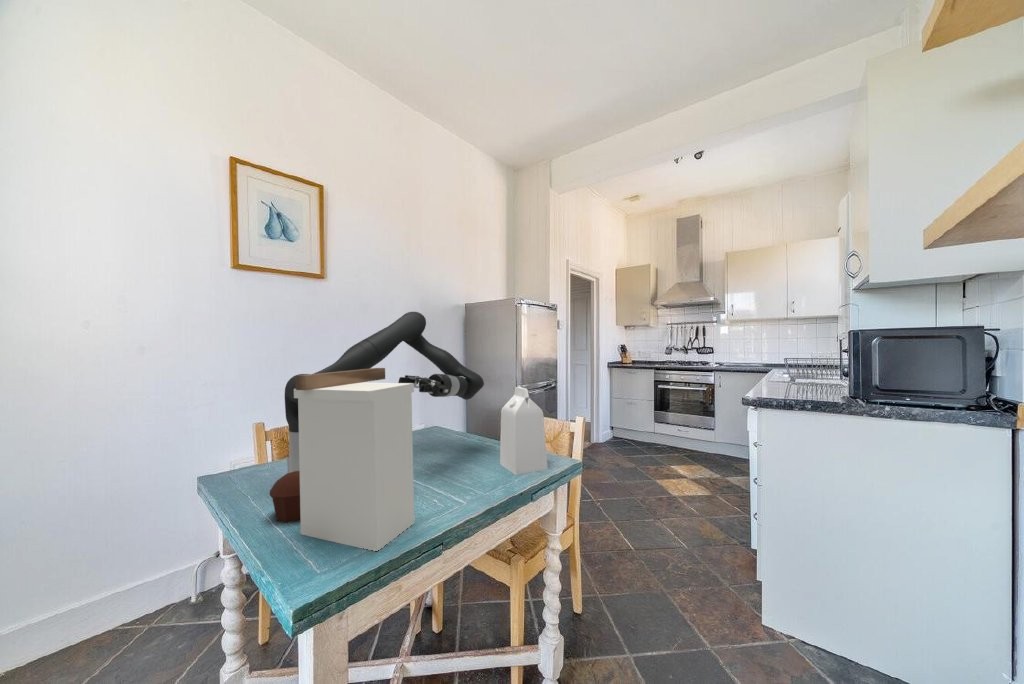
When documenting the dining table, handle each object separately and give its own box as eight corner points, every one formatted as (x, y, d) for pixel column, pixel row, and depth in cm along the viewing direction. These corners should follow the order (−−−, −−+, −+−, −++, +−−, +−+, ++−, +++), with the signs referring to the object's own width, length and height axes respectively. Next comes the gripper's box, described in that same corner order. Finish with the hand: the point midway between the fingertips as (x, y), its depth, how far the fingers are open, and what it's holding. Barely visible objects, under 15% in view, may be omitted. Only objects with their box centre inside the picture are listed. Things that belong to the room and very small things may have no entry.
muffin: (261, 516, 88) (260, 475, 88) (308, 500, 97) (307, 462, 97) (284, 530, 81) (283, 485, 81) (332, 510, 90) (331, 470, 91)
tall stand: (296, 536, 78) (293, 388, 78) (347, 508, 91) (344, 382, 91) (373, 554, 71) (370, 391, 71) (417, 521, 84) (413, 383, 84)
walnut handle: (295, 389, 76) (295, 375, 76) (376, 378, 98) (376, 367, 98) (306, 390, 75) (305, 375, 75) (385, 379, 97) (385, 367, 97)
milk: (547, 468, 117) (545, 388, 117) (515, 475, 112) (513, 391, 112) (529, 458, 128) (527, 385, 128) (499, 464, 123) (498, 387, 123)
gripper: (430, 369, 125) (396, 366, 111) (463, 380, 118) (430, 378, 104) (425, 390, 125) (389, 390, 111) (457, 402, 118) (424, 403, 104)
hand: (409, 384), depth 107 cm, fingers open, 8 cm apart
